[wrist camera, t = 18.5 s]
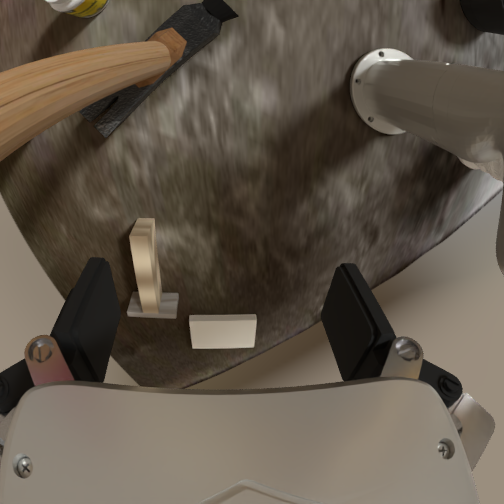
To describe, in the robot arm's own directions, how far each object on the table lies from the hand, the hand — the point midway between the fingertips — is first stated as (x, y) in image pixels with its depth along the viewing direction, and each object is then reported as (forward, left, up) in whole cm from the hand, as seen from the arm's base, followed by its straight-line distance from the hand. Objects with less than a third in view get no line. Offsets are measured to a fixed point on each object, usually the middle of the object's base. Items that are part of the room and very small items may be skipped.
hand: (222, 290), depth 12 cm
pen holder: (-38, -32, -28) cm, 57 cm away
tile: (-2, +31, -28) cm, 42 cm away
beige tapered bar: (+10, +19, -28) cm, 35 cm away
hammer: (+8, -10, -29) cm, 31 cm away
